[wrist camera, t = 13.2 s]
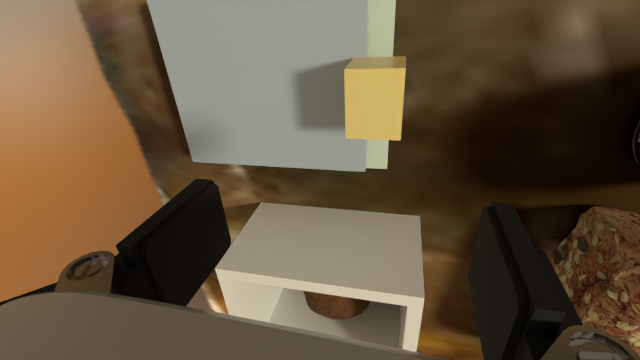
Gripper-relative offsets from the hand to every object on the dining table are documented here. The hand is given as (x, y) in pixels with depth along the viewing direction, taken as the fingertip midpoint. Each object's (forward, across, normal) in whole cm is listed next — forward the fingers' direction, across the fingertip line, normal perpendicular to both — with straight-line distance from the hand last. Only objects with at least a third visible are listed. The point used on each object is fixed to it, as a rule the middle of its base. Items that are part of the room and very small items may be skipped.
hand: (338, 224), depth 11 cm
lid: (+20, +9, -1) cm, 22 cm away
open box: (+21, +5, +21) cm, 30 cm away
